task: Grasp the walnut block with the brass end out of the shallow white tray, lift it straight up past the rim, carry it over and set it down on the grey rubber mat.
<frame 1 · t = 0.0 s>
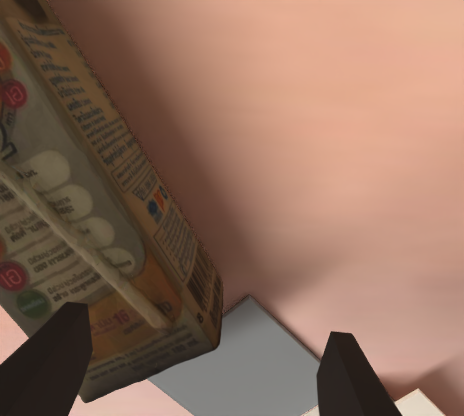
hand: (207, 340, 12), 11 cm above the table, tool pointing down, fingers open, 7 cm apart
beverage carton: (83, 171, 22), on the table
mat: (245, 377, 26), on the table
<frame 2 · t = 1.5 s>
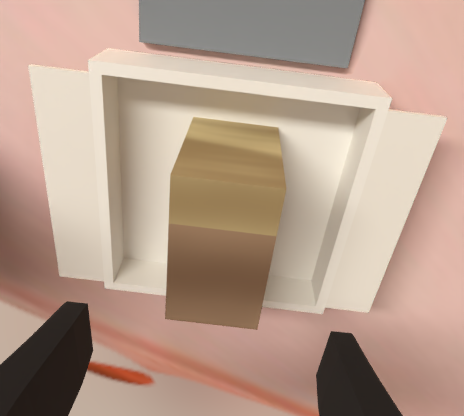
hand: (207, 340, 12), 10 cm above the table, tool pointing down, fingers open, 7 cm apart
white tray: (228, 183, 21), on the table
walnut block: (227, 187, 21), resting on white tray
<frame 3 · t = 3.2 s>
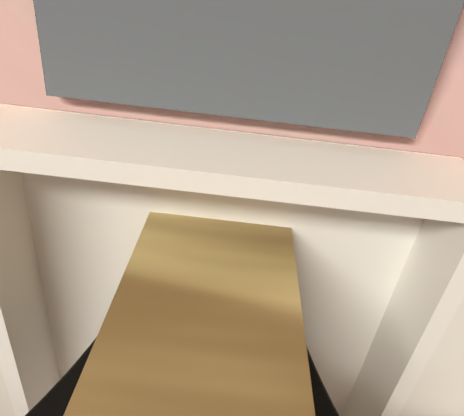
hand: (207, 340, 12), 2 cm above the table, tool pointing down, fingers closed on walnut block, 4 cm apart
white tray: (212, 299, 14), on the table
walnut block: (211, 308, 13), resting on white tray, touching gripper
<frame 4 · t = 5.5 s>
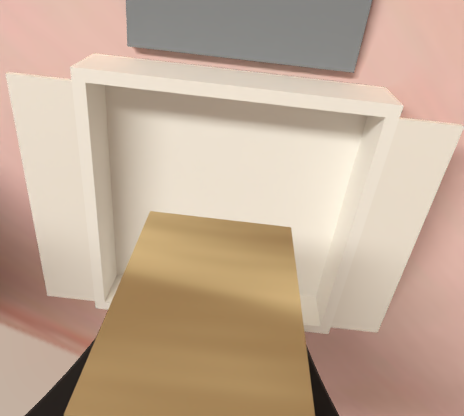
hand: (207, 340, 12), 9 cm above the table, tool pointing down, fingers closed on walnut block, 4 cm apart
white tray: (226, 196, 20), on the table
walnut block: (211, 308, 13), point 8 cm above the table, touching gripper
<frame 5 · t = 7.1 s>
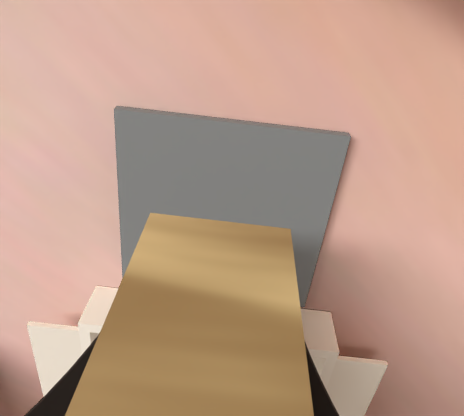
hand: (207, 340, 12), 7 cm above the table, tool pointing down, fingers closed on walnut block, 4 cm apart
white tray: (205, 373, 24), on the table
walnut block: (211, 309, 13), point 6 cm above the table, touching gripper
mat: (222, 216, 18), on the table
when the fingers open (3 cm above the table, at t = 8.2 s): walnut block drops 2 cm, resting on mat.
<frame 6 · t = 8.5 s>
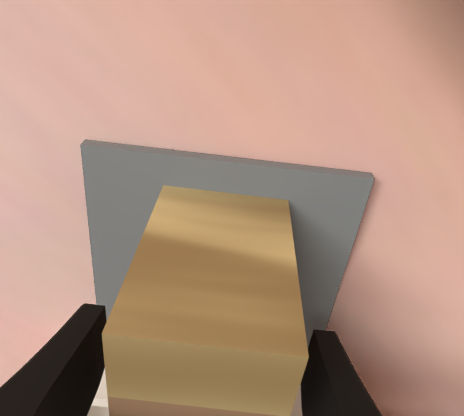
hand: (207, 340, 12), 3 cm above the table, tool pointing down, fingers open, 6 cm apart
walnut block: (216, 276, 15), resting on mat
mat: (216, 267, 15), on the table
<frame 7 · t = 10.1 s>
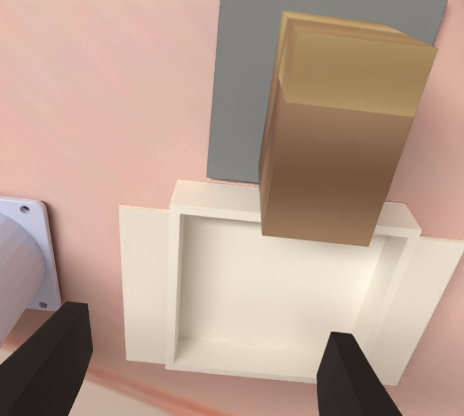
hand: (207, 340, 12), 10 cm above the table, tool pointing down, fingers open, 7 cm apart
white tray: (274, 278, 24), on the table
walnut block: (312, 100, 18), resting on mat
mat: (311, 96, 19), on the table
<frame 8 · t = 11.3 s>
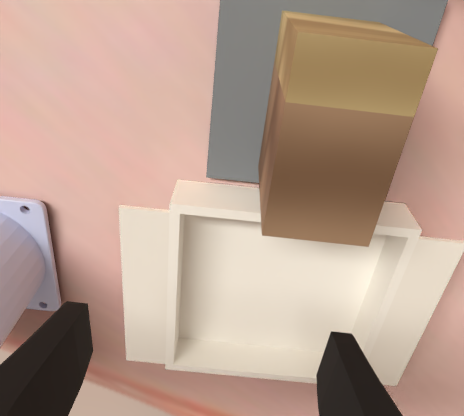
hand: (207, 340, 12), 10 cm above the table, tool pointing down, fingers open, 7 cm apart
white tray: (274, 278, 24), on the table
walnut block: (312, 100, 18), resting on mat
mat: (311, 96, 19), on the table
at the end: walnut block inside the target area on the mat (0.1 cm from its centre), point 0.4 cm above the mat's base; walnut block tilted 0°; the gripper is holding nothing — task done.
